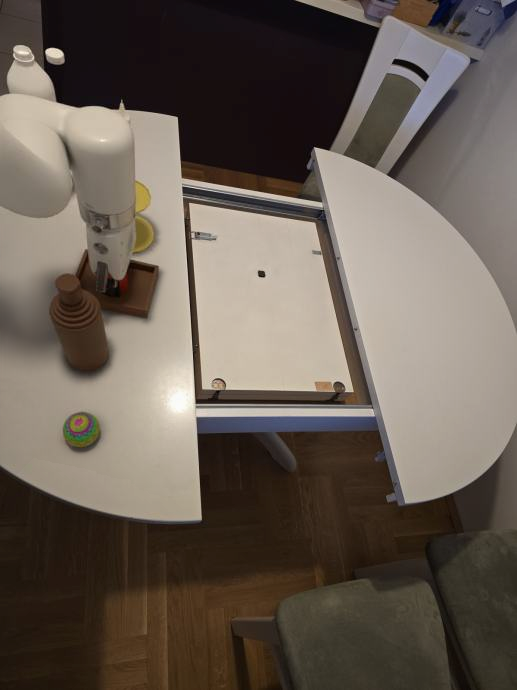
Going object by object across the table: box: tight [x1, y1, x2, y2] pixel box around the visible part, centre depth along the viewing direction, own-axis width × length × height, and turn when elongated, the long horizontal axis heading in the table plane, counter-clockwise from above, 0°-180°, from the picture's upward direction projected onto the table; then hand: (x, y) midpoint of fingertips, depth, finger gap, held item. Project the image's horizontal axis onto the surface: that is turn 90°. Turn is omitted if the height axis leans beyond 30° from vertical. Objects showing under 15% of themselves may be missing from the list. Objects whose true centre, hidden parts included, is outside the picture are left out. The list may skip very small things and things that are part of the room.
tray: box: [74, 248, 160, 319], centre depth 70 cm, size 13×10×2 cm
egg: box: [62, 411, 101, 448], centre depth 56 cm, size 5×5×6 cm
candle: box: [117, 99, 155, 254], centre depth 66 cm, size 10×10×27 cm
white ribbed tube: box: [6, 44, 74, 188], centre depth 68 cm, size 9×6×25 cm
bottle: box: [48, 273, 110, 372], centre depth 56 cm, size 6×6×20 cm
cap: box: [107, 274, 128, 293], centre depth 70 cm, size 4×4×3 cm
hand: (115, 280), depth 69 cm, fingers open, 5 cm apart
